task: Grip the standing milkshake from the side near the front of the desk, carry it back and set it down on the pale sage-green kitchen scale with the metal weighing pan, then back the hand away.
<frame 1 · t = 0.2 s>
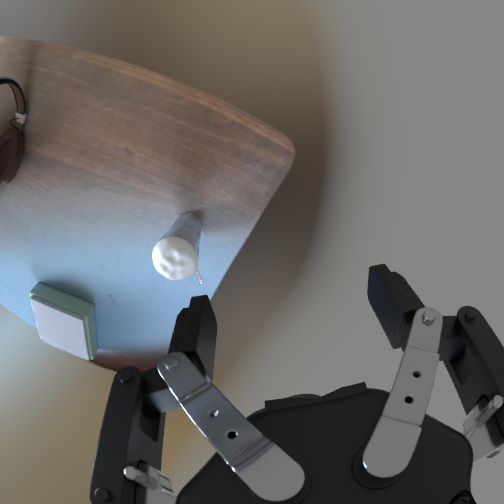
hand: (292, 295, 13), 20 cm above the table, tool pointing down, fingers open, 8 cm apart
milkshake: (192, 225, 33), on the table
scale: (67, 317, 41), on the table
headphones: (16, 151, 26), on the table
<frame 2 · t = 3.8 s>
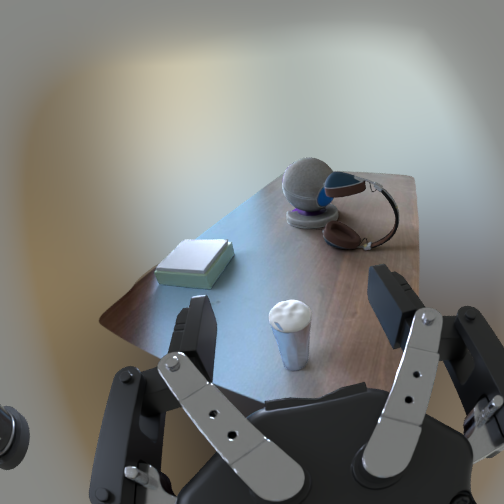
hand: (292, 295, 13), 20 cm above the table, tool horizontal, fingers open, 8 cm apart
milkshake: (294, 364, 33), on the table
scale: (197, 269, 56), on the table
webcam: (313, 217, 68), on the table
headphones: (342, 246, 54), on the table
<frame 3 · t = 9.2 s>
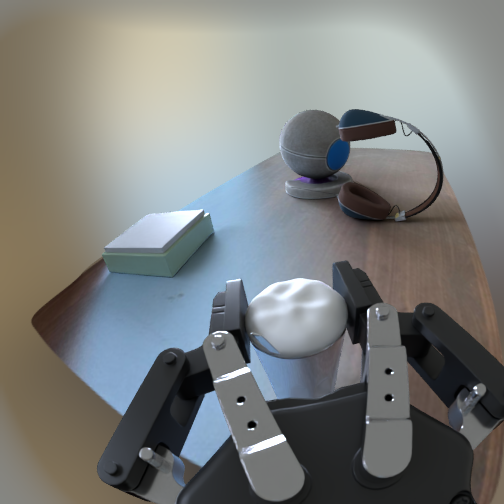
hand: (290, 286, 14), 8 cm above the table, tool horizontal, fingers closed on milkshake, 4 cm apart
milkshake: (304, 408, 16), on the table, touching gripper
scale: (161, 251, 39), on the table
webcam: (320, 188, 51), on the table
headphones: (365, 218, 37), on the table
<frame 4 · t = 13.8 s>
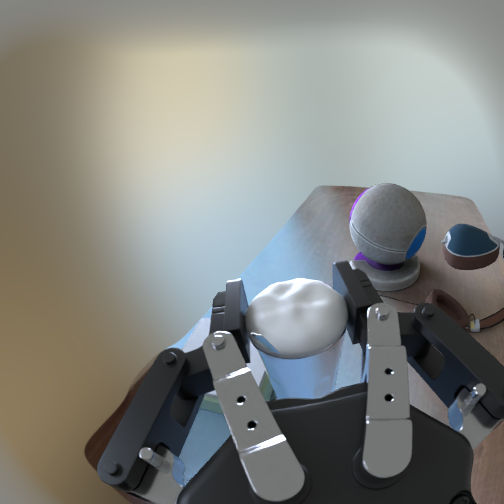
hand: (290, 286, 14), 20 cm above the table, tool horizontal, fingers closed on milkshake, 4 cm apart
milkshake: (304, 408, 16), point 12 cm above the table, touching gripper
scale: (229, 372, 33), on the table
webcam: (385, 269, 45), on the table
headphones: (442, 326, 31), on the table
when the fingers open (12 cm above the table, at t = 18.4 s): milkshake stays where it is, resting on scale.
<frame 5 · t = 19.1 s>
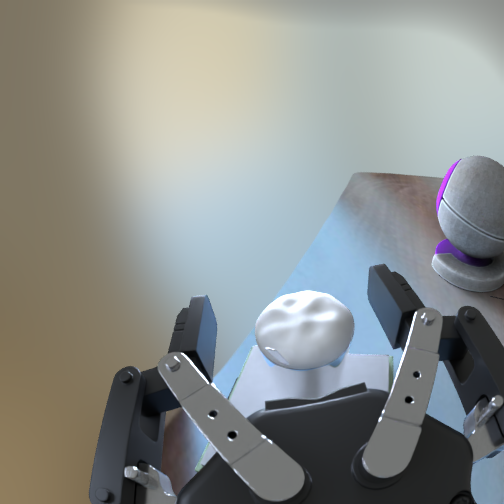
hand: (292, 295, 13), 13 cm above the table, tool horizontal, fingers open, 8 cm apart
milkshake: (307, 413, 16), point 4 cm above the table, touching scale
scale: (307, 432, 18), on the table
webcam: (470, 265, 30), on the table
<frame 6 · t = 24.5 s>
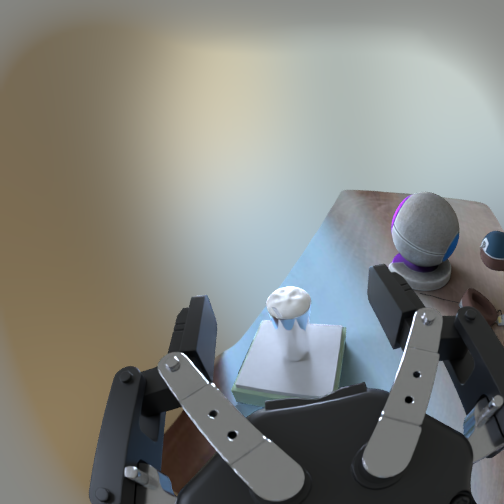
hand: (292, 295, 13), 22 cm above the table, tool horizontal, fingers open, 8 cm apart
milkshake: (293, 355, 32), point 4 cm above the table, touching scale
scale: (295, 372, 34), on the table
webcam: (420, 270, 46), on the table
headphones: (475, 321, 32), on the table
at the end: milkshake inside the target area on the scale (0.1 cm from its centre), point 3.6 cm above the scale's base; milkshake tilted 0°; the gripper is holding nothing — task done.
